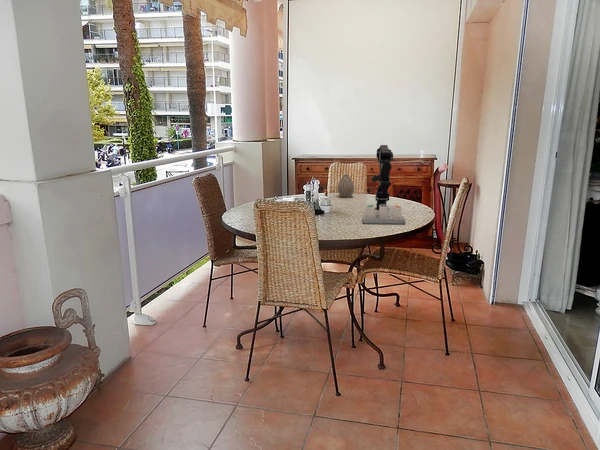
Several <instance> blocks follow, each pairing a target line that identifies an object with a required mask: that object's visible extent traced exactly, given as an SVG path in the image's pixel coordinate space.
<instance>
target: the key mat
mask: <svg viewBox="0 0 600 450" xmlns="http://www.w3.org/2000/svg"><path fill="white" fill-rule="evenodd" d="M361 219H362V220H361V221H362V225H391V226H392V225H393V226H396V225H400V226H401V225H403V226H405V225H406V222H405V223H363V217H362V218H361Z"/></svg>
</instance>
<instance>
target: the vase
mask: <svg viewBox="0 0 600 450" xmlns="http://www.w3.org/2000/svg"><path fill="white" fill-rule="evenodd" d="M342 175H343V176H342V177H341V178H340V180H339V181H338V183H337V187H336V189H337V193H338V195H339V196H340V197H341V198H343V197H349V198H351V197H352V196H353V194H354V192H355V184H354V181H353V180H352V178H351V177H350V175H349V174H347V173H346V174H342Z"/></svg>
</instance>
